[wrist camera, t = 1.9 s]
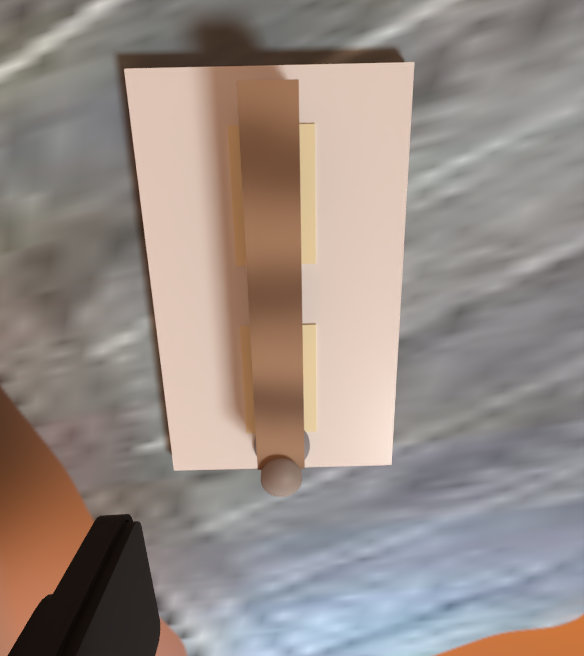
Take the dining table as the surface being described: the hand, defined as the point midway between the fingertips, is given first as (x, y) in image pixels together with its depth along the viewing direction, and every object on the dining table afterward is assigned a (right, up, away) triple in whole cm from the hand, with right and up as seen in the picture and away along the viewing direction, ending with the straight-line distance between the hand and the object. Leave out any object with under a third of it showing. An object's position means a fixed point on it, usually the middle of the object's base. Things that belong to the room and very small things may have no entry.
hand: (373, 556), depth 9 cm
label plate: (-3, +7, +20) cm, 21 cm away
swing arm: (-3, +6, +19) cm, 20 cm away
